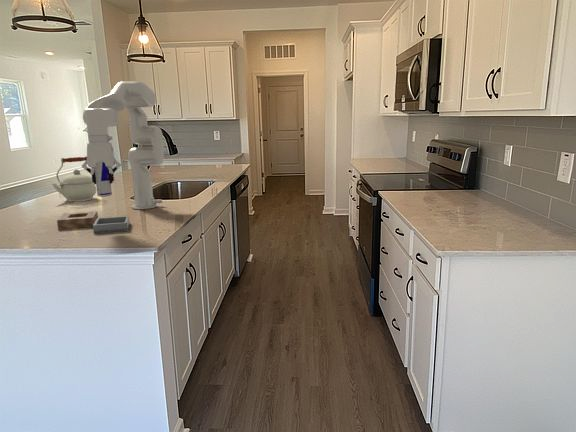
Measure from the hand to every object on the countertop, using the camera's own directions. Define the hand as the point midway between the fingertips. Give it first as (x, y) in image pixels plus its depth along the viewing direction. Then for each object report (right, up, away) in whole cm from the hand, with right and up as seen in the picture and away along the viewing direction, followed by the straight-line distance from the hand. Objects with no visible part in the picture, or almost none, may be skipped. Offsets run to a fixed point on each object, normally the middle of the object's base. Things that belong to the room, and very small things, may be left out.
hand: (103, 183), depth 168 cm
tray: (+2, -19, +4) cm, 20 cm away
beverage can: (0, -6, +1) cm, 6 cm away
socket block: (-16, -17, +11) cm, 26 cm away
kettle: (-46, -5, +67) cm, 82 cm away
